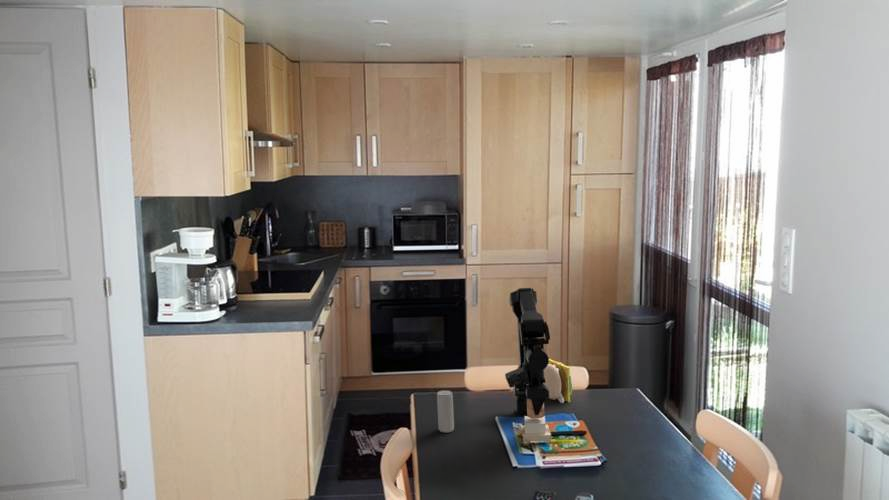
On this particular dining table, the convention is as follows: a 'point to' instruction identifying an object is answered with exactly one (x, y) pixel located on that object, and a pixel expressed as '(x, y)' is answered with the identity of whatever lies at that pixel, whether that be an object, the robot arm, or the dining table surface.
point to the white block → (535, 425)
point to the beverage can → (445, 411)
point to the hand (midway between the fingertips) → (535, 411)
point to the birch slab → (536, 435)
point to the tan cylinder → (531, 412)
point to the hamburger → (558, 381)
